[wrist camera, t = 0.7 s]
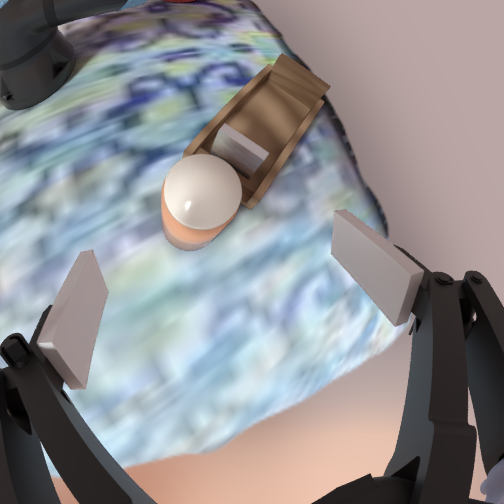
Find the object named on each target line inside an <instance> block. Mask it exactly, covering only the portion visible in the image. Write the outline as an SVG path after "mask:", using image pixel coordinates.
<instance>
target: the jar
mask: <svg viewBox="0 0 504 504" xmlns="http://www.w3.org/2000/svg"><path fill="white" fill-rule="evenodd" d="M241 197H242V187H241V183H240V179H239V177H238V175H237V173H236V172H235V170H234V169H233V168H232V167H231V166H230V165H229V164H228V163H227V162H225V161H224V160H222V159H221V158H218V157H216V156H213V155H208V154H195V155H191V156H188V157H185V158H183V159H181V160H180V161H178V162H177V163H176V164H175V165H174V166H173V167H172V168H171V170H170V171H169V173H168V175H167V176H166V178H165V180H164V183H163V187H162V230H163V233H164V235H165V237H166V239H167V240H168V241H169V242H170V243H171V244H172V245H173V246H174V247H176V248H178V249H181V250H184V251H196V250H199V249H202V248H204V247H205V246H207V245H208V244H209V243H210V242H211V241H212V240H213V239H214V238H215V237H216V236H217V235H218V234H219V233H220V231H221V230H222V229H223V228H224V227H225V226H226V225H227V224H228V223H229V222H230V221H231V220H232V219H233V217H234V216H235V214H236V213H237V210H238V208H239V204H240V201H241Z"/></svg>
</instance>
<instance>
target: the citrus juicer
mask: <svg viewBox="0 0 504 504" xmlns="http://www.w3.org/2000/svg"><path fill="white" fill-rule="evenodd" d="M163 1H167V2H177V3H180V2H192V1H195V0H163Z"/></svg>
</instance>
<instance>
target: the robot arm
mask: <svg viewBox="0 0 504 504" xmlns="http://www.w3.org/2000/svg"><path fill="white" fill-rule="evenodd" d="M147 1H148V0H0V100H1V102H2V104H3V105H4V106H5V107H6V108H7V109H10V110H22V109H26V108H29V107H31V106H34V105H36V104H38V103H39V102H41V101H43V100H44V99H46V98H47V97H49V96H50V95H52V94H53V93H54V92H55V91H56V90H58V89H59V88H60V87H61V86H62V85H63V84H64V82H65V81H66V80H67V79H68V77H69V76H70V74H71V73H72V71H73V68H74V65H75V55H74V50H73V48H72V46H71V44H70V43H69V42H68V41H67V39H66V38H65V37H64V36H63V34H62V33H61V32H60V31H59V30H58V27H57V26H59V25H62V24H65V23H68V22H72V21H75V20H79V19H82V18H86V17H90V16H95V15H99V14H104V13H108V12H114V11H121V10H123V9H126V8H130V7H135V6H140V5H142V4H144V3H145V2H147ZM331 254H332V255H333V257H334V258H335V259H336V260H337V261H338V262H339V263H340V264H341V265H342V266H343V268H344V269H345V270H346V271H347V272H348V273H349V274H350V275H351V276H352V278H353V279H354V280H355V281H356V282H357V283H358V284H359V286H360V287H361V288H362V289H363V290H364V291H365V292H366V294H367V295H368V296H369V297H370V298H371V299H372V300H373V302H374V303H375V304H376V305H377V306H378V307H379V309H380V310H381V311H382V312H383V313H384V315H385V316H386V317H387V318H388V319H389V321H390V322H391V323H392V324H393V325H394V327H396V326H398V325H401V324H403V323H406V322H407V321H408V319H409V316H410V313H411V312H412V313H413V314H414V315H415V316H416V317H415V319H414V322H413V325H412V327H411V329H410V332H409V335H411V333H412V332H413V339H412V352H411V362H410V371H409V379H408V387H407V394H406V400H405V406H404V411H403V416H402V422H401V426H400V431H399V435H398V440H397V444H396V448H395V452H394V454H393V457H392V459H391V460H390V462H389V464H388V466H387V468H386V470H385V473H384V476H382V477H374V478H372V476H371V474H368V475H366V476H363V477H361V478H359V479H357V480H355V481H352V482H350V483H347V484H345V485H342V486H340V487H337V488H336V489H334V490H333V491H331V492H330V493H328V494H327V495H325V496H323V497H322V498H321V499H318V500H317V501H315V502H313V503H312V504H504V307H503V305H502V304H501V302H500V300H499V298H498V297H497V295H496V293H495V292H494V290H493V288H492V287H491V285H490V284H489V282H488V280H487V279H486V278H485V277H484V276H483V275H482V274H481V273H479V272H477V271H468V272H466V273H465V276H464V279H463V280H459V281H454V279H453V278H452V277H451V276H449V275H448V274H446V273H443V272H433V273H432V272H431V271H429V270H428V269H427V268H426V267H425V266H423V265H422V264H421V263H420V262H418V261H417V260H415V258H414V257H412V256H411V255H410V254H409V253H407V252H406V251H405V250H404V249H402V248H400V247H398V246H396V245H392V244H391V243H390V242H389V241H387V240H386V239H385V238H383V237H382V236H381V235H380V234H378V233H377V232H376V231H374V230H373V229H372V228H370V227H369V226H368V225H366V224H365V223H364V222H362V221H361V220H360V219H358V218H357V217H356V216H354V215H353V214H352V213H350V212H349V211H347V210H346V209H344V210H336V211H334V221H333V235H332V247H331ZM108 293H109V292H108V289H107V287H106V284H105V282H104V279H103V277H102V274H101V271H100V268H99V266H98V263H97V260H96V257H95V254H94V251H93V250H88V251H83V252H80V254H79V256H78V258H77V259H76V261H75V263H74V265H73V267H72V268H71V270H70V272H69V274H68V276H67V278H66V280H65V281H64V283H63V285H62V287H61V289H60V291H59V293H58V295H57V297H56V299H55V301H54V304H53V305H49V306H48V308H47V309H46V310H45V311H44V312H43V314H42V316H41V318H40V320H39V322H38V325H37V327H36V328H37V329H35V331H34V334H33V336H32V338H31V341H30V343H29V344H28V343H27V341H26V340H25V338H24V337H23V335H22V334H20V333H14V334H11V335H9V336H8V337H7V338H6V339H5V340H4V341H3V342H2V344H1V346H0V355H1V357H2V358H3V359H4V360H5V362H6V363H7V364H8V366H9V367H6V368H3V369H0V504H61V502H60V500H59V497H58V495H57V493H56V490H55V487H54V484H53V482H52V479H51V476H50V473H49V470H48V467H47V464H46V461H45V457H44V454H43V451H42V447H41V443H42V445H43V447H44V449H45V451H46V452H47V454H48V456H49V458H50V460H51V461H52V463H53V465H54V466H55V468H56V470H57V471H58V473H59V475H60V476H61V478H62V479H63V481H64V482H65V484H66V485H67V487H68V488H69V490H70V491H71V493H72V494H73V495H74V497H75V498H76V500H77V501H78V502H79V504H157V503H156V502H155V501H154V500H153V499H152V498H151V497H149V496H148V495H147V494H146V493H145V492H144V491H143V490H142V489H141V488H140V487H139V486H138V485H137V484H136V483H135V482H134V481H133V480H132V478H131V477H130V476H129V475H128V474H127V473H126V472H125V471H124V470H123V469H122V468H121V466H120V465H119V464H118V463H117V462H116V461H115V460H114V458H113V457H112V456H111V455H110V454H109V452H108V451H107V450H106V449H105V448H104V446H103V445H102V444H101V443H100V441H99V440H98V439H97V437H96V436H95V435H94V433H93V432H92V431H91V429H90V428H89V427H88V425H87V424H86V422H85V421H84V420H83V418H82V417H81V415H80V414H79V412H78V411H77V409H76V408H75V406H74V405H73V403H72V402H71V400H70V398H69V397H68V395H67V394H66V392H65V391H64V390H63V389H62V388H63V383H64V382H65V383H66V384H67V385H68V387H69V388H70V389H86V386H87V380H88V374H89V369H90V364H91V359H92V355H93V350H94V346H95V341H96V337H97V333H98V329H99V325H100V321H101V317H102V314H103V310H104V306H105V303H106V299H107V296H108ZM475 312H476V321H474V319H473V316H474V314H475ZM468 387H469V391H470V395H471V399H472V404H473V408H474V413H475V418H476V424H477V429H478V435H479V442H480V449H481V455H482V461H483V464H484V468H485V472H486V474H487V479H486V480H484V481H483V483H482V484H481V489H480V490H481V493H482V494H486V495H487V497H486V500H485V502H484V501H479V500H475V499H470V498H469V493H470V489H471V483H472V477H473V470H474V462H475V453H476V441H477V432H476V428H475V427H474V426H472V425H469V424H468ZM40 441H41V443H40Z"/></svg>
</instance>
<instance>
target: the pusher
mask: <svg viewBox="0 0 504 504" xmlns="http://www.w3.org/2000/svg"><path fill="white" fill-rule="evenodd" d="M210 154H211V155H213V156H216V157H218V158H221V159H222V160H224V161H225V162H227V163H228V164H229V165H230V166H231V167H232V168H233V169H234V170H235V171H236V172H238V173H239V174H241V175H242V176H244V177H245V178H247V179H248V180H249V179H250V177H251V176H252V175H253V174H254V172H255V171H256V170H257V169H258V167H259V166H260V165H261V164H262V162H263V161H264V160H265V159H266V157H267V156H268V154H269V153H268V152H267V151H265V150H264V149H263V148H261V147H260V146H258V145H257V144H255V143H254V142H252V141H251V140H249V139H248V138H247V137H245V136H244V135H242V134H241V133H239V132H237V131H236V130H234V129H233V128H231V127H230V126H228V125H227V124H225V123H224V125H223V126H222V127H221V128H220V129H219V131H218V133H217V136H216V138H215V141H214V143H213V146H212V148H211V151H210Z"/></svg>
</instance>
